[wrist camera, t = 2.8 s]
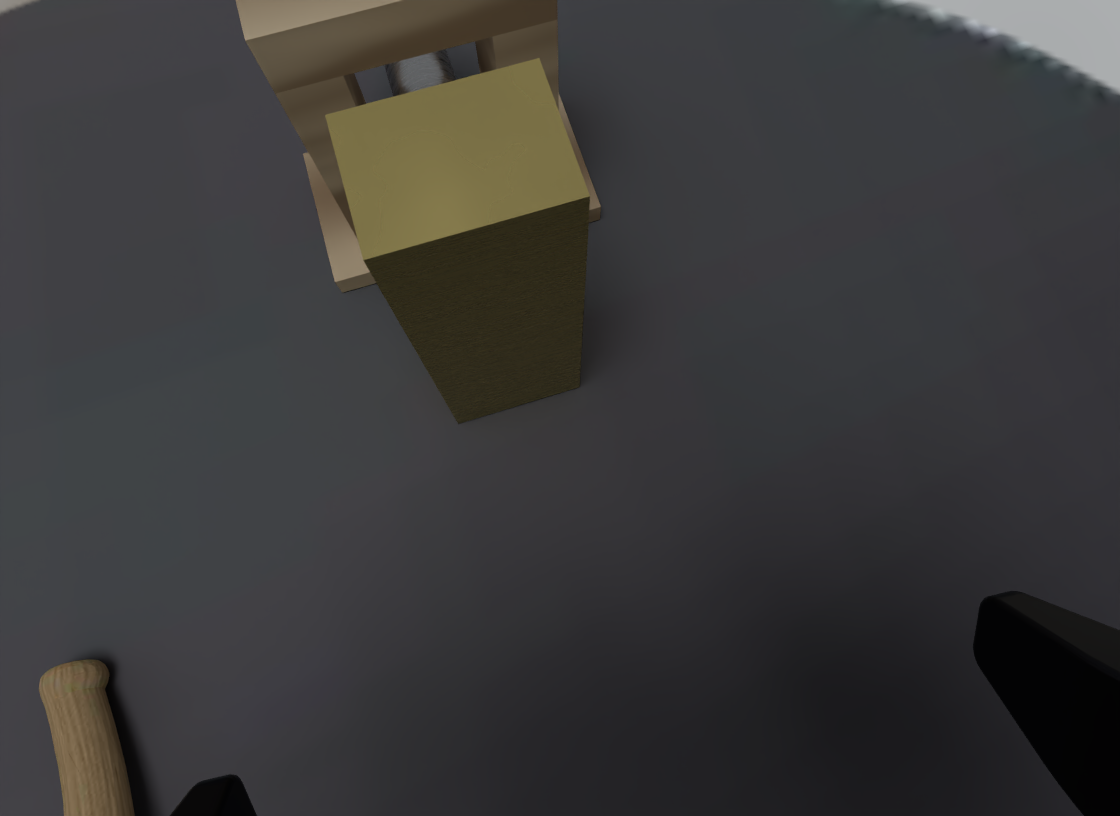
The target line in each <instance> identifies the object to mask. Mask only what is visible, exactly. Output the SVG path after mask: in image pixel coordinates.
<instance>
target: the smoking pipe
mask: <svg viewBox="0 0 1120 816" xmlns="http://www.w3.org/2000/svg"><path fill="white" fill-rule="evenodd" d="M108 679H109V672H108V669H107V667H106V665H105V664H104V663H102V662H101V661H99V660H89V659H87V660H78V661H73V662H69V663H65V664H61V665H58V666H56V667H53V668H51V669H49V670H48V671H47V672H46V673H45V674H44V675H43V676H42V677H41V679H40V683H39V692H40V695H41V698H42V701H43V704H44V706H45V709H46V713H47V717H48V721H49V725H50V729H51V734H52V739H53V744H54V748H55V753H56V758H57V763H58V768H59V775H60V782H61V788H62V795H63V803H64V816H135V814H134V808H133V802H132V796H131V791H130V786H129V780H128V775H127V770H126V765H125V761H124V757H123V753H122V749H121V745H120V741H119V737H118V733H117V729H116V725H115V722H114V718H113V715H112V712H111V708H110V705H109V702H108V698H107V695H106V691H105V688H106V685H107V683H108Z"/></svg>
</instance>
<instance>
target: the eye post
mask: <svg viewBox="0 0 1120 816" xmlns="http://www.w3.org/2000/svg"><path fill="white" fill-rule="evenodd" d="M236 3H237V8H238V12H239V16H240V20H241V25H242V29H243V33H244V37H245V41H246V43H247V45H248V46H249V48H250V50H251V52H252V53H253V55H254V57H255V59H256V60H257V62H258V64H259V66H260V68H261V69H262V71H263V73H264V75H265V76H266V78H267V80H268V82H269V84H270V85H271V87H272V89H273V91H274V92H275V94H276V96H277V98H278V99H279V101H280V103H281V105H282V107H283V108H284V110H285V112H286V114H287V115H288V117H289V119H290V121H291V122H292V124H293V126H294V128H295V130H296V131H297V133H298V135H299V137H300V138H301V140H302V142H303V144H304V146H305V147H306V149H307V151H308V153H304V154H303V155H304V159H305V163H306V168H307V172H308V176H309V180H310V184H311V188H312V192H313V196H314V200H315V204H316V208H317V212H318V216H319V220H320V224H321V228H322V232H323V236H324V240H325V244H326V248H327V252H328V256H329V260H330V264H331V268H332V272H333V276H334V280H335V283H336V284H337V286H338V287H339V289H340V290H341V291H342V293H343V292H347V291H350V290H354V289H357V288H361V287H364V286H368V285H371V284H375V283H376V281H375V280H374V278H373V276H372V275H371V273H370V271H369V269H368V268H367V266H366V264H365V262H364V261H363V258H362V254H361V250H360V246H359V242H358V239H357V235H356V231H355V227H354V223H353V220H352V216H351V212H350V208H349V204H348V201H347V197H346V193H345V189H344V185H343V182H342V178H341V174H340V170H339V166H338V163H337V159H336V155H335V151H334V147H333V144H332V140H331V136H330V132H329V128H328V124H327V121H326V117H325V115H327V114H330V113H334V112H338V111H342V110H345V109H349V108H353V107H357V106H360V105H364V104H366V102H365V100H364V97H363V95H362V92H361V90H360V87H359V85H358V82H357V80H356V77H355V75H354V73H356V72H359V71H363V70H367V69H371V68H375V67H379V66H382V65H386V64H390V63H394V62H398V61H401V60H405V59H409V58H413V57H417V56H420V55H424V54H428V53H432V52H436V51H440V50H443V49H447V48H451V47H455V46H459V45H462V44H466V43H470V42H474V41H475V43H476V49H477V56H478V62H479V68H480V74H481V73H484V72H488V71H492V70H496V69H499V68H503V67H507V66H511V65H515V64H518V63H522V62H526V61H530V60H533V59H537V58H539V59H540V61H541V64H542V67H543V69H544V72H545V75H546V78H547V80H548V83H549V86H550V89H551V91H552V94H553V97H554V99H555V102H556V105H557V108H558V110H559V113H560V116H561V118H562V121H563V124H564V127H565V129H566V132H567V135H568V137H569V140H570V143H571V146H572V148H573V151H574V154H575V156H576V159H577V162H578V165H579V167H580V170H581V173H582V176H583V178H584V181H585V184H586V186H587V189H588V192H589V195H590V207H589V222H593V221H596V220H600V211H601V206H600V203H599V201H598V198H597V195H596V192H595V190H594V187H593V184H592V182H591V179H590V176H589V174H588V171H587V168H586V165H585V163H584V160H583V157H582V155H581V152H580V149H579V147H578V144H577V141H576V138H575V136H574V133H573V130H572V128H571V125H570V122H569V120H568V117H567V114H566V111H565V109H564V106H563V103H562V101H561V98H560V95H559V89H558V25H557V0H236Z"/></svg>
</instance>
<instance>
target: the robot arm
mask: <svg viewBox="0 0 1120 816" xmlns="http://www.w3.org/2000/svg"><path fill="white" fill-rule="evenodd" d="M973 651H974V656H975V659H976V661H977V664H978V666H979V667H980V669H981V671H982V672H983V674H984V675H985V677H986V678H987V680H988V681H989V683H990V684H991V686H992V687H993V688H994V690H995V691H996V693H997V694H998V696H999V697H1000V699H1001V700H1002V702H1003V703H1004V705H1005V706H1006V708H1007V709H1008V711H1009V712H1010V714H1011V715H1012V717H1013V718H1014V720H1015V721H1016V723H1017V724H1018V726H1019V727H1020V729H1021V730H1022V732H1023V733H1024V735H1025V736H1026V738H1027V739H1028V741H1029V742H1030V743H1031V745H1032V746H1033V748H1034V749H1035V751H1036V752H1037V754H1038V755H1039V757H1040V758H1041V760H1042V761H1043V763H1044V764H1045V766H1046V767H1047V768H1048V770H1049V771H1050V773H1051V774H1052V775H1053V777H1054V778H1055V780H1056V781H1057V782H1058V784H1059V785H1060V786H1061V787H1062V789H1063V790H1064V791H1065V793H1066V794H1067V795H1068V797H1069V798H1070V799H1071V800H1072V802H1073V803H1074V804H1075V805H1076V807H1077V808H1078V809H1079V810H1080V812H1081V813H1082V814H1083V815H1084V816H1120V630H1117V629H1115V628H1112V627H1110V626H1107V625H1104V624H1102V623H1099V622H1097V621H1094V620H1092V619H1089V618H1086V617H1084V616H1081V615H1079V614H1076V613H1074V612H1071V611H1068V610H1066V609H1063V608H1061V607H1058V606H1056V605H1053V604H1050V603H1048V602H1045V601H1043V600H1040V599H1038V598H1035V597H1032V596H1030V595H1027V594H1025V593H1022V592H1018V591H1009V592H1005V593H1001V594H996V595H992V596H988V597H986V598H984V600H983V601H982V602H981V604H980V607H979V613H978V619H977V625H976V631H975V637H974V643H973ZM170 816H257V815H256V813H255V810H254V808H253V806H252V803H251V801H250V799H249V796H248V794H247V792H246V789H245V787H244V785H243V783H242V781H241V779H240V778H239V777H238V776H237V775H231V774H229V775H225V776H221V777H217V778H212V779H208V780H204V781H201V782H199V783H197V784H196V785H195V786H194V787H192V789H191V790H190V791H189V792H188V793H187V795H186V796H185V797H184V798H183V800H182V801H181V802H180V803H179V805H178V806H177V807H176V808H175V810H174V811H173V812H172V814H171V815H170Z"/></svg>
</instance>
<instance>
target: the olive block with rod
mask: <svg viewBox="0 0 1120 816" xmlns="http://www.w3.org/2000/svg"><path fill="white" fill-rule="evenodd" d="M384 66H385V69H386V73H387V76H388V79H389V83H390V86H391V89H392V93H393V96H394V97H390V98H387V99H383V100H379V101H375V102H372V103H368V104H364V105H360V106H357V107H353V108H349V109H345V110H342V111H338V112H334V113H330V114H327V115H325V117H326V121H327V124H328V128H329V132H330V136H331V140H332V144H333V147H334V151H335V155H336V159H337V163H338V166H339V170H340V174H341V178H342V182H343V185H344V189H345V193H346V197H347V201H348V204H349V208H350V212H351V216H352V220H353V223H354V227H355V231H356V235H357V239H358V242H359V246H360V250H361V254H362V258H363V261H364V262H365V264H366V266H367V268H368V269H369V271H370V273H371V275H372V276H373V278H374V280H375V281H376V283H377V285H378V287H379V288H380V290H381V292H382V293H383V295H384V297H385V299H386V300H387V302H388V304H389V305H390V307H391V309H392V311H393V312H394V314H395V316H396V317H397V319H398V321H399V323H400V324H401V326H402V328H403V330H404V331H405V333H406V335H407V336H408V338H409V340H410V342H411V343H412V345H413V347H414V348H415V350H416V352H417V354H418V355H419V357H420V359H421V360H422V362H423V364H424V366H425V367H426V369H427V371H428V372H429V374H430V376H431V378H432V379H433V381H434V383H435V384H436V386H437V388H438V390H439V391H440V393H441V395H442V397H443V398H444V400H445V402H446V403H447V405H448V407H449V409H450V410H451V412H452V414H453V415H454V417H455V419H456V421H457V422H458V424H459V423H462V422H466V421H469V420H472V419H475V418H479V417H482V416H485V415H489V414H492V413H495V412H499V411H502V410H505V409H509V408H512V407H515V406H519V405H522V404H525V403H528V402H532V401H535V400H538V399H542V398H545V397H548V396H552V395H555V394H558V393H562V392H565V391H568V390H571V389H575V388H578V387H579V383H580V365H581V347H582V330H583V312H584V295H585V277H586V259H587V242H588V224H589V207H590V195H589V192H588V189H587V186H586V184H585V181H584V178H583V176H582V173H581V170H580V167H579V165H578V162H577V159H576V156H575V154H574V151H573V148H572V146H571V143H570V140H569V137H568V135H567V132H566V129H565V127H564V124H563V121H562V118H561V116H560V113H559V110H558V108H557V105H556V102H555V99H554V97H553V94H552V91H551V89H550V86H549V83H548V80H547V78H546V75H545V72H544V69H543V67H542V64H541V61H540V59H539V58H537V59H533V60H530V61H526V62H522V63H518V64H515V65H511V66H507V67H503V68H499V69H496V70H492V71H488V72H484V73H481V74H477V75H473V76H469V77H466V78H462V79H458V80H456V79H455V76H454V72H453V69H452V66H451V63H450V60H449V57H448V54H447V51H446V49H443V50H440V51H436V52H432V53H428V54H424V55H420V56H417V57H413V58H409V59H405V60H401V61H398V62H394V63H390V64H386V65H384Z"/></svg>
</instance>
